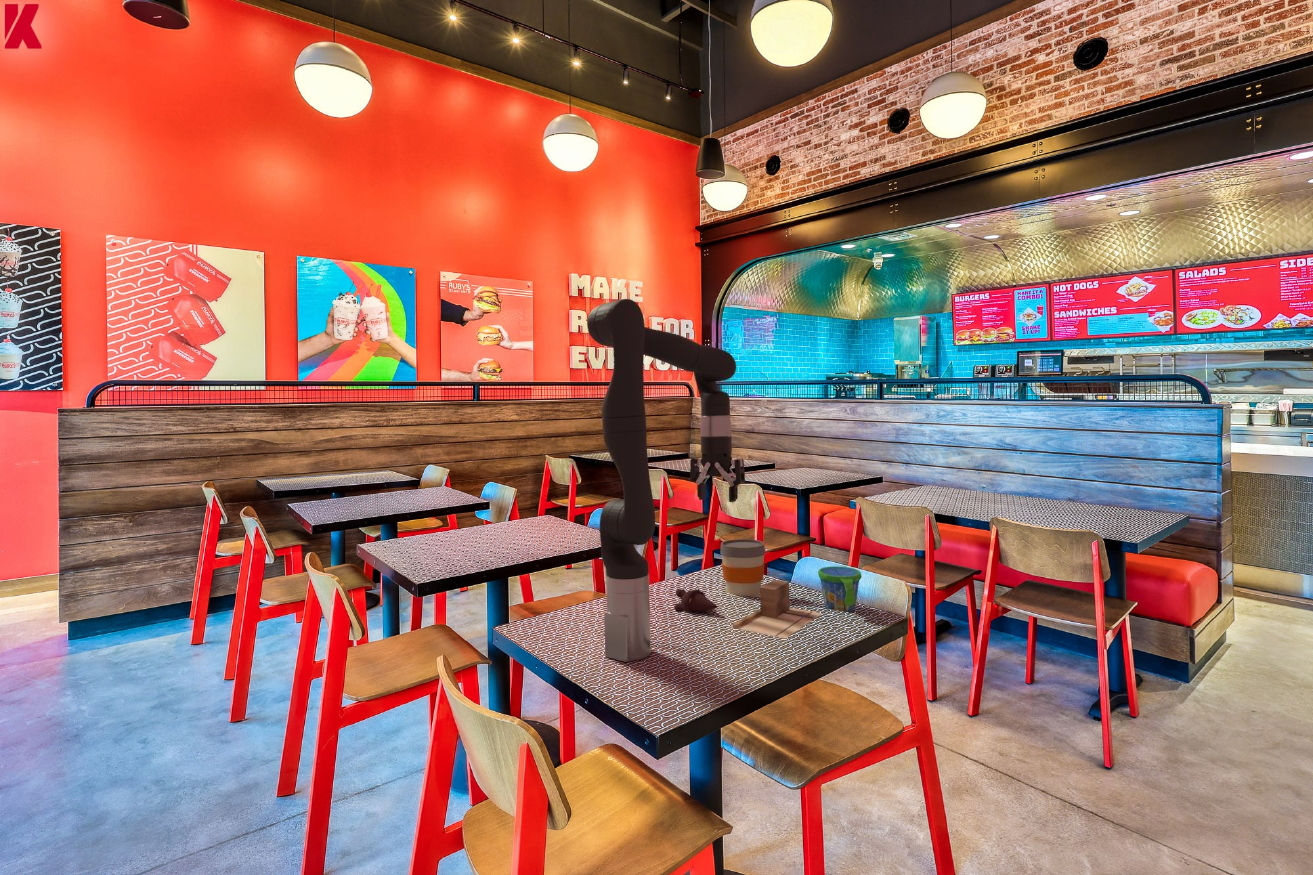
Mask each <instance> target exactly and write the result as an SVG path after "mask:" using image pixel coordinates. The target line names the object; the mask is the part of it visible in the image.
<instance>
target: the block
mask: <svg viewBox="0 0 1313 875" xmlns="http://www.w3.org/2000/svg"><path fill="white" fill-rule="evenodd" d="M759 598H760V599H759V600H760V601H759V604H760V607H759V609H760V610H761V616H766V617H772V618H777V617H778V616H780V615H781V614H783V613H784V612H786V611H787V610H789V609H790V608H791V607H790V606H791V605H790V603H791V602H790V581H787V580H780V579H773V580H771V581H769V582H767V583H765V584H763V585H761V587H760V597H759Z"/></svg>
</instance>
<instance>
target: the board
mask: <svg viewBox="0 0 1313 875" xmlns="http://www.w3.org/2000/svg"><path fill="white" fill-rule="evenodd" d="M822 613H823V612H822ZM822 613H821V612H815V611H812V610H811V611H810V610H805V609H798V608H794V607H793V608H792V607H790V609H789V610H787V611H786V612H784V613H783V614H781V615H780V616H778V617H777V618H772V617H766V616H761V610H760V608H759V609H757V610H755V611H754V612H752V613H750V614H749V615H747V616H745V617H743V618H741V619H740V620H737V621H736V622H734V623H732V625H731V626H730V628H732V629H735V630H742V631H745V632H751V633H757V634H759V635H766V636H771V637H775V638H781V639H785V640H786V639H788V638H789V637H790V636H791V635H793V634H794V633H796V632H797V631H799V630H800V629H802V628H803V627H805V626H806V625H808V624H809V623H810V622H812V621H813V620H815V619H817V618H818V617H819V616H820V615H822Z"/></svg>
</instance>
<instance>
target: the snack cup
mask: <svg viewBox="0 0 1313 875" xmlns="http://www.w3.org/2000/svg"><path fill="white" fill-rule="evenodd" d="M817 574H818V578H819V579H820V585H821V593H822V598H823V605H824V608H825V609H827V610H831V611H837V612H838V611H839V612H843V613H849V614H850V613H852V612H855V610H856V606H857V599H858V593H859V584H860V580H861V579H862V573H861V571H860V570H858V569H857V568H853V567H848V566H837V565H836V566H827V567H826V566H825V567H822V568H820V569H818V571H817Z"/></svg>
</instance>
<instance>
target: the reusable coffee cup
mask: <svg viewBox="0 0 1313 875" xmlns="http://www.w3.org/2000/svg"><path fill="white" fill-rule="evenodd" d="M720 555H721V560H722V562H721V563H720V564H721V568H722V577H723V580H724V581H725V588H726V593H728V594H729V595H733V596H741V597H744V596H745V597H747V596H749V597H752V598H753V597H754V598H760V587H762V581H763V580H764V575H765V574H764V573H765V565H766V564H765V562H764V558H765V555H766V548H765V543H764V542H763V541H761V540H757V539H750V538H749V539H747V538H745V539H744V538H741V539H740V538H739V539H738V538H737V539H728V540H724V541H721V543H720Z"/></svg>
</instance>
